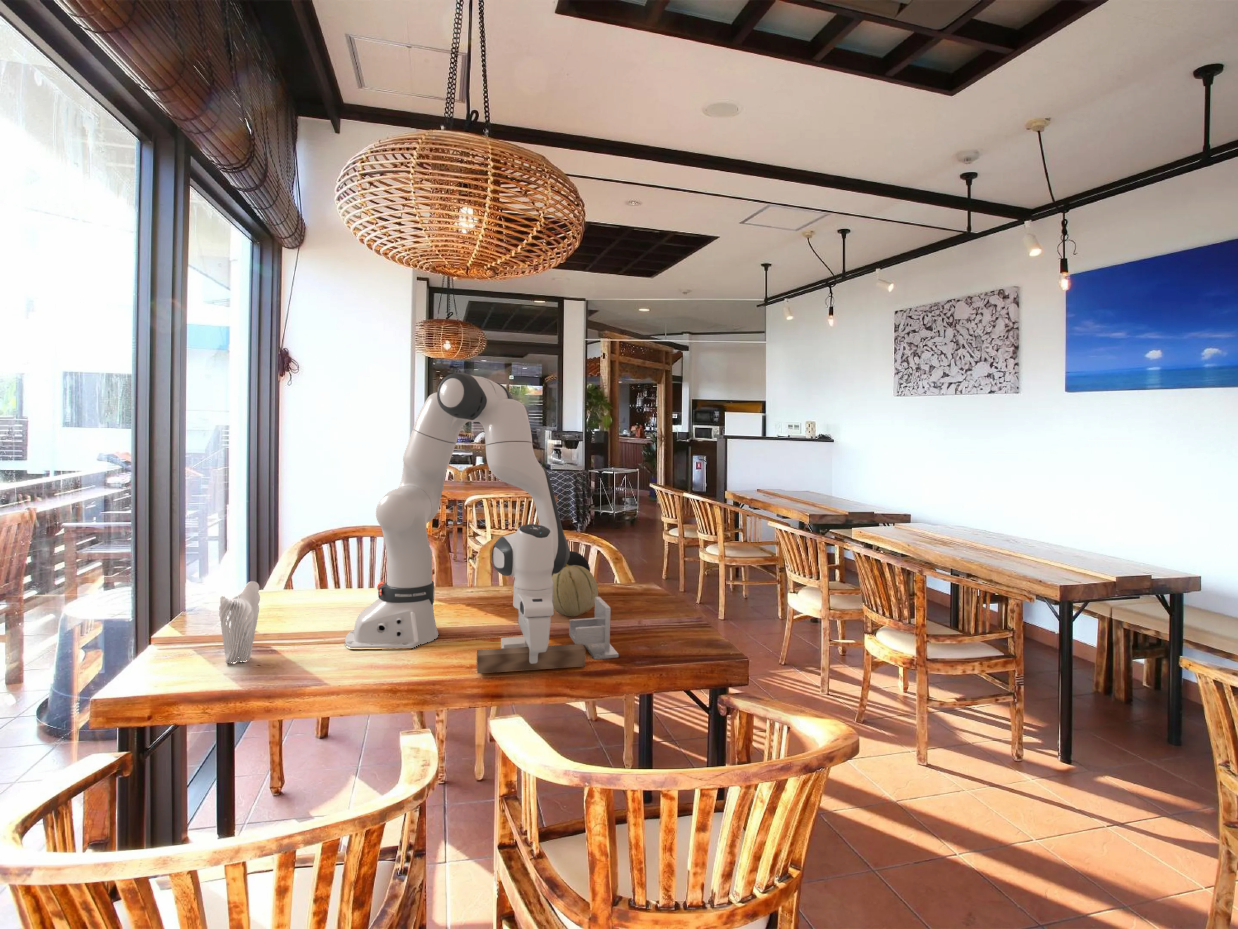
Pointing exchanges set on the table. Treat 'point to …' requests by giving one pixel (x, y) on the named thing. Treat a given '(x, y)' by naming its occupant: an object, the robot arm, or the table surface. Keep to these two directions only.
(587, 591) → the cantaloupe
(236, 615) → the shell sculpture
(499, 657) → the walnut rail
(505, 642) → the pale grey block
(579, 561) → the black rounded lump
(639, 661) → the table surface
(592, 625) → the bracket
